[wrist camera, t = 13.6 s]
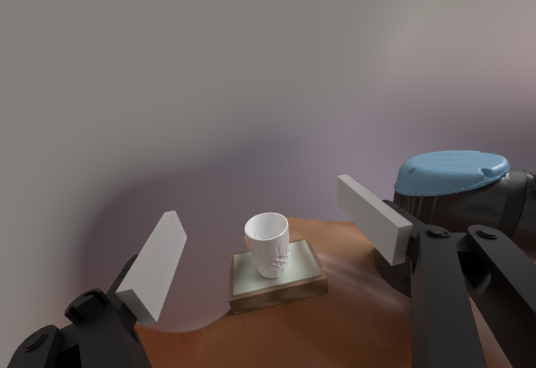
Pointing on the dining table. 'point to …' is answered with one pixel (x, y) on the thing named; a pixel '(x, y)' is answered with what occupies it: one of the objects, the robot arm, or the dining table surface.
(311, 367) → the dining table surface
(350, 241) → the dining table surface
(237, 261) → the board
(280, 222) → the white cup
